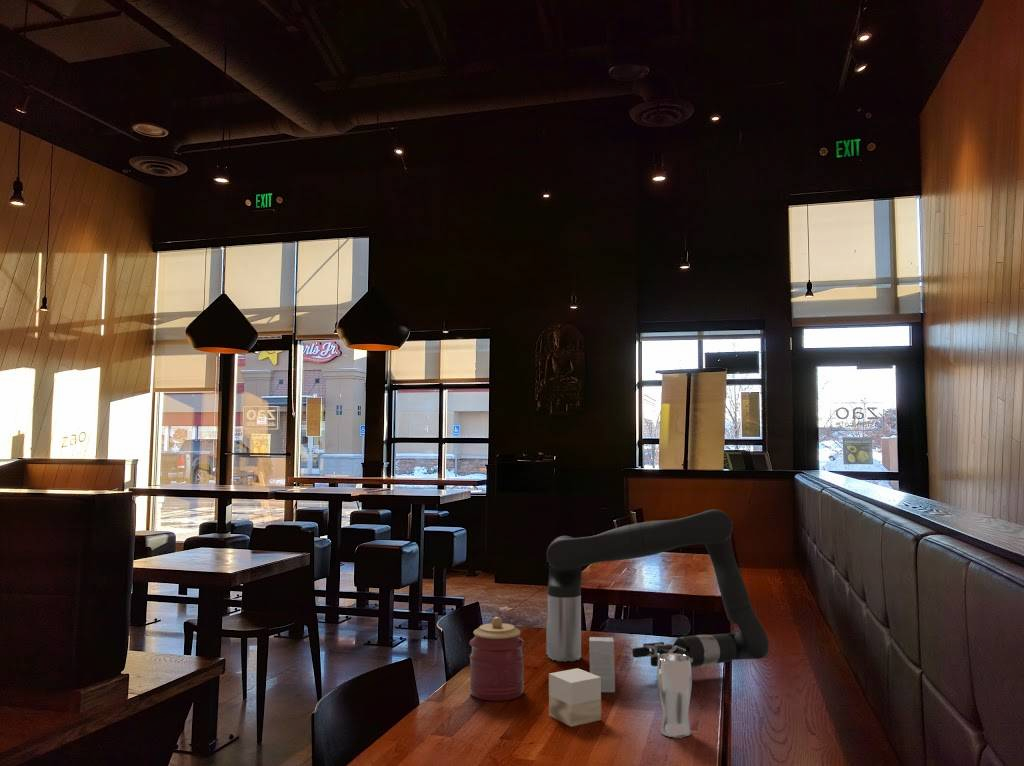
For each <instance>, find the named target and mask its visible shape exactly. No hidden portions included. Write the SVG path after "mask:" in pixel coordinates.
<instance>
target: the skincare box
mask: <svg viewBox="0 0 1024 766" xmlns="http://www.w3.org/2000/svg"><path fill="white" fill-rule="evenodd" d="M588 643H589V644H588V645H589V647H588V648H589V652H588V653H589V654H588V655H589V673H592V674H594V675H597V676H599V677H601V693H615V692H616V675H615V674H616V671H615V670H616V669H615V667H616V665H615V640H614V637H605V636H604V637H603V636H589V638H588Z"/></svg>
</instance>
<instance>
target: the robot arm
mask: <svg viewBox="0 0 1024 766" xmlns="http://www.w3.org/2000/svg"><path fill="white" fill-rule="evenodd" d="M733 525H734V524H733V521H732V519H731V517H730V516H729V515H728V513H726V512H724V511H723V510H721V509H716V508H712V509H708V510H705V511H702V512H699V513H696V514H693V515H690V516H685V517H681V518H676V519H663V520H662V519H661V520H651V521H642V522H638V523H637V522H636V523H632V524H625V525H623V526H619V527H615V528H612V529H610V530H606V531H604V532H601V533H599V534H596V535H595V534H594V535H591V536H582V537H572V536H569V535H561V536H558V537H555V539H553V541H551V542H550V544H549V545H548V547H547V550H546V555H545V556H546V561H547V563H548V565H549V567H548V570H549V571H548V582H547V583H548V584H547V620H546V625H545V627H546V629H545V630H546V631H545V632H546V635H545V636H546V638H545V640H546V641H545V647H546V649H545V653H546V654H547V655H548V656H547V655H546V656H547V658H548V657H549V658H550V659H549V658H548V659H549V660H551V659H552V660H551V661H554V660H556V662H562V661H563V662H564V663H565V662H566V663H567V661H570V662H575V661H576V660H577V661H579V660H581V659H582V600H581V599H582V595H581V594H582V568H583V567H584V566H589V565H592V564H598V563H602V562H603V563H604V562H613V561H614V562H616V561H624V560H631V559H632V560H633V559H638V558H640V559H641V558H644V557H645V558H646V557H650V556H655V555H658V554H663V553H666V552H669V551H672V550H674V549H678V548H681V547H686V546H691V545H692V546H693V545H704V546H705V548H706V550H707V552H708V555H709V558H710V561H711V563H712V567H713V569H714V573H715V576H716V581H717V585H718V589H719V593H720V597H721V600H722V604H723V607H724V611H725V614H726V617H727V620H728V621H729V623H732V624H735V625H737V627H738V629H739V631H735V632H733V631H732V632H728V633H717V634H713V633H712V634H697V635H686V636H685V635H684V636H680V637H677V638H676V640H675V642H674V644H673V643H665V642H663V641H659V642H649V643H648V642H647V643H646V642H645V643H642V645H643V646H640V647H633V648H632V657H633V658H636V659H637V658H642V657H643V658H644V657H650V665H651V667H657V666H658V656H659V655H661V654H666V653H676V654H683V655H686V656H688V657H690V662H691V669H692V668H699V667H706V666H711V665H714V664H715V665H716V664H721V663H727V662H731V661H735V660H736V661H737V660H761V659H764V658H765V657H767V655H768V654H769V649H770V643H769V637H768V634H767V633H766V631H765V629H764V627H763V626H762V623H761V621H760V620H759V618H758V617H757V615H756V613H755V612H754V608H753V605H752V602H751V599H750V596H749V592H748V589H747V586H746V584H745V583H746V582H745V580H744V578H743V576H742V574H741V572H740V569H739V566H738V564H737V560H736V558H735V555H734V554H735V553H734V550H733V545H732V538H731V535H732V533H733V529H734V526H733ZM580 658H581V659H580ZM563 662H562V663H563Z"/></svg>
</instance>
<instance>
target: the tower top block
mask: <svg viewBox="0 0 1024 766" xmlns="http://www.w3.org/2000/svg"><path fill="white" fill-rule="evenodd" d="M549 695H550V696H552V697H554V698H556V699H559V700H561V701H563V702H565V703H567V704H569V705H575V704H579V703H584V702H588V701H593V700H598V699H601V700H602V692H601V677H599V676H597V675H594V674H592V673H590V671H589V672H588V671H586V670H583V669H580V668H579V667H578V668H571V669H567V670H561V671H556V672H551V673H548V696H549Z"/></svg>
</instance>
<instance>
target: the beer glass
mask: <svg viewBox="0 0 1024 766" xmlns="http://www.w3.org/2000/svg"><path fill="white" fill-rule="evenodd" d="M656 667H657V669H656V682H657V683H656V684H657V691H658V696H659V698H658V699H659V702H660V707H661V723H660V729H659V732H661V733H660V734H661V735H662V734H663V735H662V736H664V735H665V737H666V736H668V737H667V738H669V737H674V738H673V739H676V737H677V738H679V737H686V736H689V735H690V736H691V727H690V721H689V711H690V710H689V709H690V702H691V697H692V689H693V688H692V687H693V678H692V677H693V675H692V674H693V673H692V668H691V662H690V657H688V656H686V655H683V654H676V653H666V654H661V655H660V654H658V666H656ZM690 736H689V737H690Z"/></svg>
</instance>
